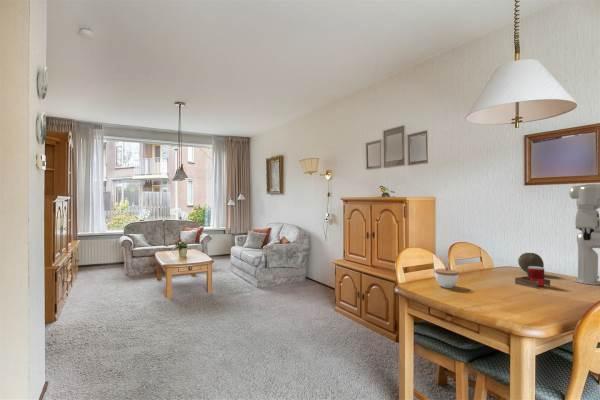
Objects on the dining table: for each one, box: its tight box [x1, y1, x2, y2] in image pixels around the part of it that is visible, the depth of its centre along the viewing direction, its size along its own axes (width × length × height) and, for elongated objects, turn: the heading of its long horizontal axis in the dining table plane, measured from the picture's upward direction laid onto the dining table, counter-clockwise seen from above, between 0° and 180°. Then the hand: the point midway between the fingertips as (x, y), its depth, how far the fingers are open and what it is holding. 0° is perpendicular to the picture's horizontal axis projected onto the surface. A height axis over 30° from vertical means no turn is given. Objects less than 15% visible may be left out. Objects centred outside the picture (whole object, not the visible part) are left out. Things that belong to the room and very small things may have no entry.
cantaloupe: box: [517, 252, 545, 274], centre depth 228 cm, size 14×14×15 cm
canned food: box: [527, 266, 545, 288], centre depth 198 cm, size 8×8×11 cm
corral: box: [514, 275, 551, 289], centre depth 200 cm, size 14×12×4 cm
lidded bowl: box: [434, 266, 459, 289], centre depth 193 cm, size 13×13×11 cm
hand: (586, 240), depth 188 cm, fingers closed
